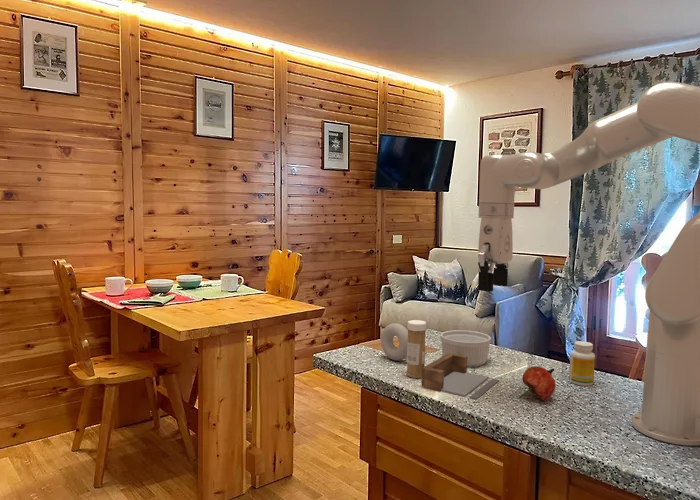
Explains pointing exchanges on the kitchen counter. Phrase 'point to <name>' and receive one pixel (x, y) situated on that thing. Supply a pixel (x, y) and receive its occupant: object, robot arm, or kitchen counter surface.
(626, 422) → the kitchen counter surface
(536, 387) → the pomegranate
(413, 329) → the sprinkles bottle
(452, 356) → the backstop rail
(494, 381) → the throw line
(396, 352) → the donut
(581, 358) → the supplement bottle
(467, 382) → the mat
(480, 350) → the ramekin
